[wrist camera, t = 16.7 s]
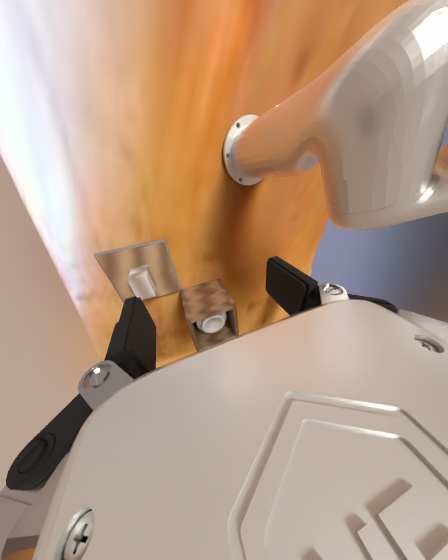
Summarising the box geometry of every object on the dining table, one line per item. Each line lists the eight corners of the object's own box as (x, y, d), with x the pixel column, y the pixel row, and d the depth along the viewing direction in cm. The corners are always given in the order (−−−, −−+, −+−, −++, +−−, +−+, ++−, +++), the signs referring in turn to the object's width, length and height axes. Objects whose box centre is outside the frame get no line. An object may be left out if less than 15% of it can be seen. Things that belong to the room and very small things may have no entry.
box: (219, 278, 52) (236, 305, 41) (223, 307, 59) (239, 336, 48) (180, 290, 49) (186, 322, 38) (189, 318, 56) (197, 352, 45)
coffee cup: (198, 313, 57) (206, 340, 47) (185, 297, 51) (191, 323, 42) (220, 301, 57) (232, 325, 48) (210, 283, 52) (221, 306, 42)
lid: (164, 241, 40) (165, 251, 34) (179, 288, 48) (182, 302, 42) (98, 255, 37) (86, 269, 31) (127, 303, 45) (122, 321, 39)
